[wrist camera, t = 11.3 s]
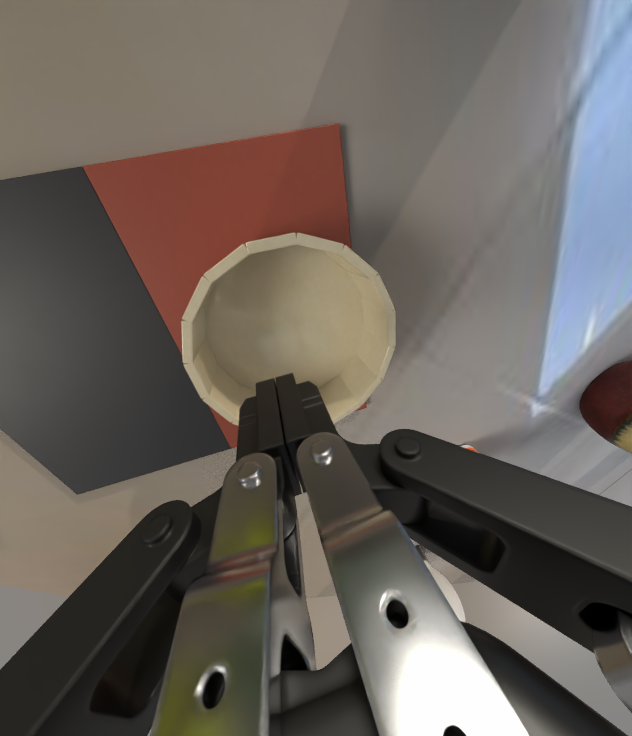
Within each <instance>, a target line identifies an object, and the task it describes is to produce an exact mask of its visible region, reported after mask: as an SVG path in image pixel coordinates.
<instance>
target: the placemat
mask: <svg viewBox="0 0 632 736" xmlns="http://www.w3.org/2000/svg"><path fill="white" fill-rule="evenodd" d="M293 232H295V233H298V232H299V233H303V234H307V235H311V236H315V237H318V238H322V239H326V240H330V241H334V242H338V243H342V244H344V245H346V246H348V247H349V248H350V249H351V240H350V230H349V219H348V209H347V198H346V188H345V178H344V167H343V157H342V146H341V136H340V126H339V123H337V124H331V125H325V126H319V127H313V128H307V129H302V130H296V131H290V132H284V133H278V134H272V135H266V136H260V137H254V138H248V139H242V140H236V141H230V142H225V143H219V144H213V145H207V146H201V147H195V148H189V149H183V150H177V151H171V152H165V153H159V154H154V155H148V156H142V157H136V158H130V159H124V160H118V161H112V162H106V163H100V164H94V165H88V166H83V167H77V168H71V169H65V170H59V171H53V172H47V173H41V174H35V175H29V176H23V177H17V178H12V179H6V180H0V429H1V430H2V431H4V432H5V433H6V434H7V435H8V436H9V437H11V438H12V439H13V440H14V441H15V442H16V443H18V444H19V445H20V446H21V447H22V448H23V449H25V450H26V451H27V452H28V453H29V454H30V455H32V456H33V457H34V458H35V459H36V460H37V461H39V462H40V463H41V464H42V465H43V466H44V467H46V468H47V469H48V470H49V471H50V472H52V473H53V474H54V475H55V476H56V477H57V478H59V479H60V480H61V481H62V482H63V483H64V484H66V485H67V486H68V487H69V488H70V489H71V490H73V491H74V492H75V493H76V494H81V493H84V492H88V491H91V490H94V489H98V488H101V487H104V486H108V485H111V484H114V483H118V482H121V481H124V480H128V479H131V478H134V477H138V476H141V475H144V474H148V473H151V472H154V471H158V470H161V469H164V468H168V467H171V466H174V465H178V464H181V463H184V462H188V461H191V460H194V459H197V458H201V457H204V456H207V455H211V454H214V453H217V452H221V451H224V450H227V449H231V448H234V447H237V440H238V429H239V427H238V426H237V425H234V424H232V422H231V423H230V422H229V421H228V420H226V419H225V418H224V417H223V416H221V415H220V414H219V413H218V412H216V411H215V410H214V409H213V408H211V407H210V406H209V405H208V404H206V403H205V402H204V401H203V399H201V398H200V396H199V394H198V392H197V390H196V388H195V386H194V384H193V382H192V381H191V379H190V377H189V375H188V373H187V371H186V369H185V367H184V363H183V361H182V329H181V321H182V320H183V319H182V317H183V315H184V312H185V310H186V308H187V306H188V304H189V302H190V300H191V298H192V296H193V294H194V291H195V289H196V287H197V285H198V283H199V281H200V279H201V277H202V276H203V275H204V273H206V272H207V271H208V270H210V269H211V268H212V267H213V266H215V265H216V264H217V263H219V262H220V261H221V260H222V259H224V258H225V257H226V256H228V255H229V254H230V253H231V252H233V251H234V250H235V249H237V248H238V247H239V246H240V245H242V244H243V243H245V242H247V241H250V240H255V239H260V238H265V237H270V236H275V235H279V234H284V233H293ZM360 406H361V407H360V408H358V409H357V410H360V409H364V408H367V406H366V401H365V403H364V404H363V405H360ZM357 410H355V411H357Z"/></svg>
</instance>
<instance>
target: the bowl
mask: <svg viewBox="0 0 632 736" xmlns="http://www.w3.org/2000/svg"><path fill="white" fill-rule="evenodd" d="M394 310H395V308H394V306H393V303H392V301H391V299H390V297H389V294H388V292H387V290H386V288H385V286H384V283H383V281H382V279H381V277H380V275H379V274H378V272H377V271H376V270H375V269H373V268H372V267H371V266H370V265H369V264H368V263H366V262H365V261H364V260H363V259H362V258H361V257H359V256H358V255H357V254H356V253H355V252H353V251H352V250H351V249H350V248H349V247H348V246H346V245H344V244H342V243H338V242H334V241H330V240H326V239H322V238H318V237H315V236H311V235H307V234H303V233H299V232H298V233H295V232H293V233H284V234H279V235H275V236H270V237H265V238H260V239H255V240H250V241H247V242H245V243H243V244H242V245H240V246H239V247H238V248H237V249H235V250H234V251H233V252H231V253H230V254H229V255H228V256H226V257H225V258H224V259H222V260H221V261H220V262H219V263H217V264H216V265H215V266H213V267H212V268H211V269H210V270H208V271H207V272H206V273H204V275H203V276H202V277H201V279H200V281H199V283H198V285H197V287H196V289H195V291H194V294H193V296H192V298H191V300H190V302H189V304H188V306H187V308H186V310H185V312H184V315H183V317H182V319H183V320H182V321H181V329H182V361H183V363H184V367H185V369H186V371H187V373H188V375H189V377H190V379H191V381H192V382H193V384H194V386H195V388H196V390H197V392H198V394H199V396H200V398H201V399H203V401H204V402H205V403H206V404H208V405H209V406H210V407H211V408H213V409H214V410H215V411H216V412H218V413H219V414H220V415H221V416H223V417H224V418H225V419H226V420H228V421H229V422H230V423H231V422H232V424H234V425H237V426H238V425H239V410H240V407H241V406H242V404H243V402H244V401H245V399H247V398H250V397H254V396H256V383H257V382H261V381H264V380H268V379H271V378H274V379H275V377H278V376H282V375H286V374H289V373H293V375H294V378H295V381H296V384H299V383H303V382H306V381H310V382H311V383H313V384H314V385H316V386H317V387H318V390H319V392H320V394H321V397H322V399H323V401H324V403H325V406H326V408H327V410H328V413H329V415H330V417H331V419H332V422H333V424H335V423H337V422H338V421H340V420H341V419H343V418H344V417H346V416H347V415H349V414H351V413H352V412H354V411H355V410H357V409H358V408H360V407H361V406H360V405H363V404H364V403H365V401H366V400H367V399H368V398H369V397H370V395H371V394H372V393H373V392H374V391H375V389H376V388H377V387H378V386H379V385H380V383H381V382H382V381H383V380H382V379H384V377H385V374H386V371H387V369H388V366H389V364H390V361H391V358H392V356H393V353H394V350H395V346H396V317H395V311H394ZM275 382H276V379H275Z"/></svg>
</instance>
